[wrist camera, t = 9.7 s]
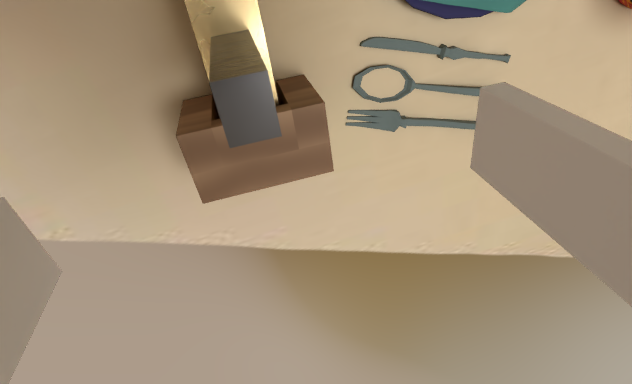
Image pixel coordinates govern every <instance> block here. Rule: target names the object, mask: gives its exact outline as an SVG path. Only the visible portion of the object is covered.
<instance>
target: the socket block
mask: <svg viewBox="0 0 632 384" xmlns="http://www.w3.org/2000/svg"><path fill="white" fill-rule="evenodd" d="M274 83H275V87H276V92H277V97H278V102H279V106H276V111H277V116H278V120H279V125H280V129H281V134H282V136H281V137H276V138H272V139H268V140H264V141H259V142H255V143H251V144H246V145H242V146H238V147H234V148H229V145H228V141H227V138H226V135H225V132H224V129H223V125H222V122H221V119H220V116H219V113H218V110H217V106H216V103H215V100H214V97H213V94H212V95H207V96H203V97H198V98H194V99H189V100H184V101H183V104H182V109H181V114H180V119H179V124H178V128H177V133H176V138H177V140H178V143H179V145H180V148H181V150H182V153H183V155H184V158H185V160H186V163H187V165H188V168H189V170H190V173H191V175H192V178H193V180H194V183H195V185H196V188H197V190H198V193H199V195H200V198H201V200H202V203H207V202H211V201H215V200H220V199H224V198H228V197H232V196H236V195H240V194H244V193H248V192H252V191H256V190H260V189H264V188H268V187H272V186H276V185H280V184H284V183H288V182H292V181H296V180H300V179H304V178H308V177H312V176H316V175H320V174H324V173H328V172H332V171H334V169H333V162H332V154H331V147H330V139H329V132H328V125H327V117H326V110H325V102H324V101H323V100H322V98H321V97H320V96H319V94H318V93H317V92H316V90H315V89H314V88H313V86H312V85H311V84H310V82H309V81H308V80H307V78H306V77H305V76H304V75H300V76H295V77H290V78H286V79H281V80H277V81H274Z"/></svg>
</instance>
